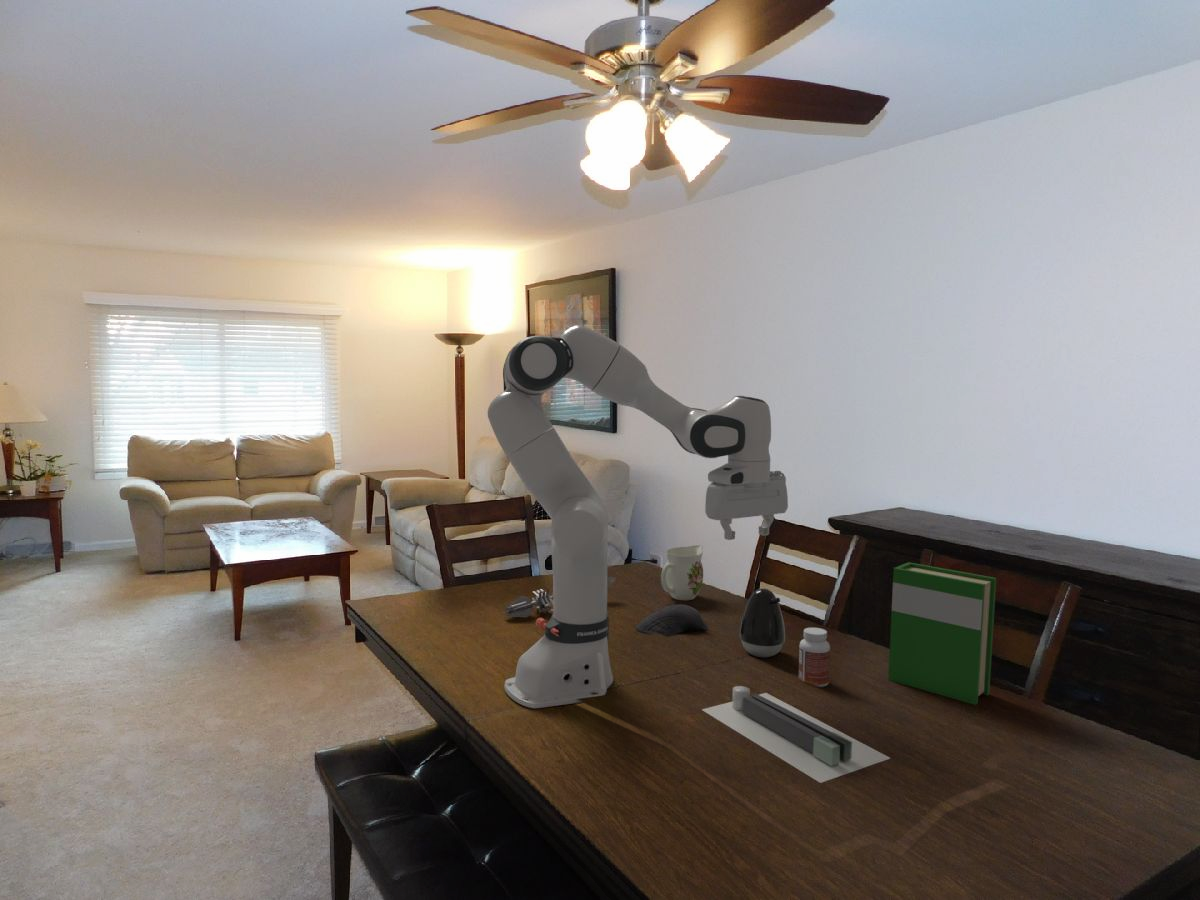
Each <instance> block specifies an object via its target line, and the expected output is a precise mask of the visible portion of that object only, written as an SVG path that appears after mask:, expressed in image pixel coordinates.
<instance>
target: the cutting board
mask: <svg viewBox="0 0 1200 900" xmlns="http://www.w3.org/2000/svg"><path fill="white" fill-rule="evenodd" d="M759 695H760V696H762V697H764V698H766V699H768V700H770V701H771V702H773V703H775V704H777V705H779V706H781V707H783V708H785V709H787V710H789V711H791V712H793V713H795V714H797V715H799V716H801V717H803V718H805V719H807V720H809V721H811V722H813V723H815V724H816V725H818V726H820V727H822V728H824V729H826V730H828V731H830V732H835V733H837V734H839V735H841V736H843V737H845V738H847V739H849V740H851V741H852V759H850V760H847V761H842V760H840V761H839V764H836V765H833V766H831V765H829V764H827V763H825V762H824V761H822V760H820V759H819V758H817V757H815V756H813V753H811V752H809V751H807V750H806V749H804V748H802V747H801V746H799V745H797V744H795V743H794V742H792V741H790V740H788V739H787V738H785V737H783V736H782V735H780V734H778V733H776V732H775V731H773V730H771V729H769V728H768V727H766V726H764V725H763V724H761V723H759V722H757V721H756V720H754V719H752V718H750V717H749V716H747V715H745V714H744V713H743V712H741V711H736V710H734V709H733V708H732V701H730V702H726V703H721V704H718V705H713V706H709V707H706V708H702V709H701V711H703V712H704V713H706V714H708V715H709V716H711V717H712V718H714V719H715V720H716V721H719V722H721V723H722V724H724V725H725V726H727V727H728V728H730V729H732V730H734V731H735V732H737V733H738V734H739V735H742V736H743V737H745V738H746V739H748V740H750V741H751V742H753V743H755V745H757V746H759V747H761V748H763V749H764V750H766V751H767V752H769V753H771V754H772V755H773V756H776V757H778V758H779V759H780V760H782V761H784V762H785V763H787V764H789V765H790V766H792V767H794V768H795V769H797V770H798V771H800V772H802V773H803V774H805V775H806V776H808V777H810V778H811V779H813V780H814V781H816V782H818V783H819V784H822V783H825V782H827V781H830V780H834V779H837V778H838V777H841V776H845V775H847V774H851V773H853V772H856V771H859V770H861V769H865V768H868V767H870V766H874V765H876V764H878V763H881V762H884V761H887V760H890V759H891V757H889V756H887V755H886V754H884V753H882V752H879V751H878V750H876V749H874V748H872V747H870V746H869V745H867V744H864V743H862V742H861V741H858V740H857V739H855V738H853V737H851V736H849V735H848V734H845V733H843V732H842V731H840V730H837V729H836V728H834V727H832V726H830V725H828V724H826V723H824V722H822V720H819V719H817V718H814V717H813V716H811V715H809V714H808V713H805V712H803V711H801V710H800V709H797V708H796V707H794V706H792V705H791V704H788V703H786V702H785V701H783V700H781V699H778V698H777V697H775V696H773V695H771V694H769V693H768V692H763V693H760V694H759Z"/></svg>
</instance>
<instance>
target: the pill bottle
mask: <svg viewBox="0 0 1200 900" xmlns="http://www.w3.org/2000/svg"><path fill="white" fill-rule="evenodd" d="M827 638H828V631H827V630H826V629H825V628H819V627H806V628H804V629H803V639H801V640H800V642H799V646H798V647H799V648H798V649H799V653H798V654H799V655H798V657H799V658H798V679H799V680H801V681H802V682H804V683H806V684H809V685H812V686H815V687H818V688H824V687H827V686H828V685H829V684H830V667H831V665H830V663H831V661H830V660H831V659H830V658H831V644H830V643H829V642H828V641H827Z"/></svg>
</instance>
